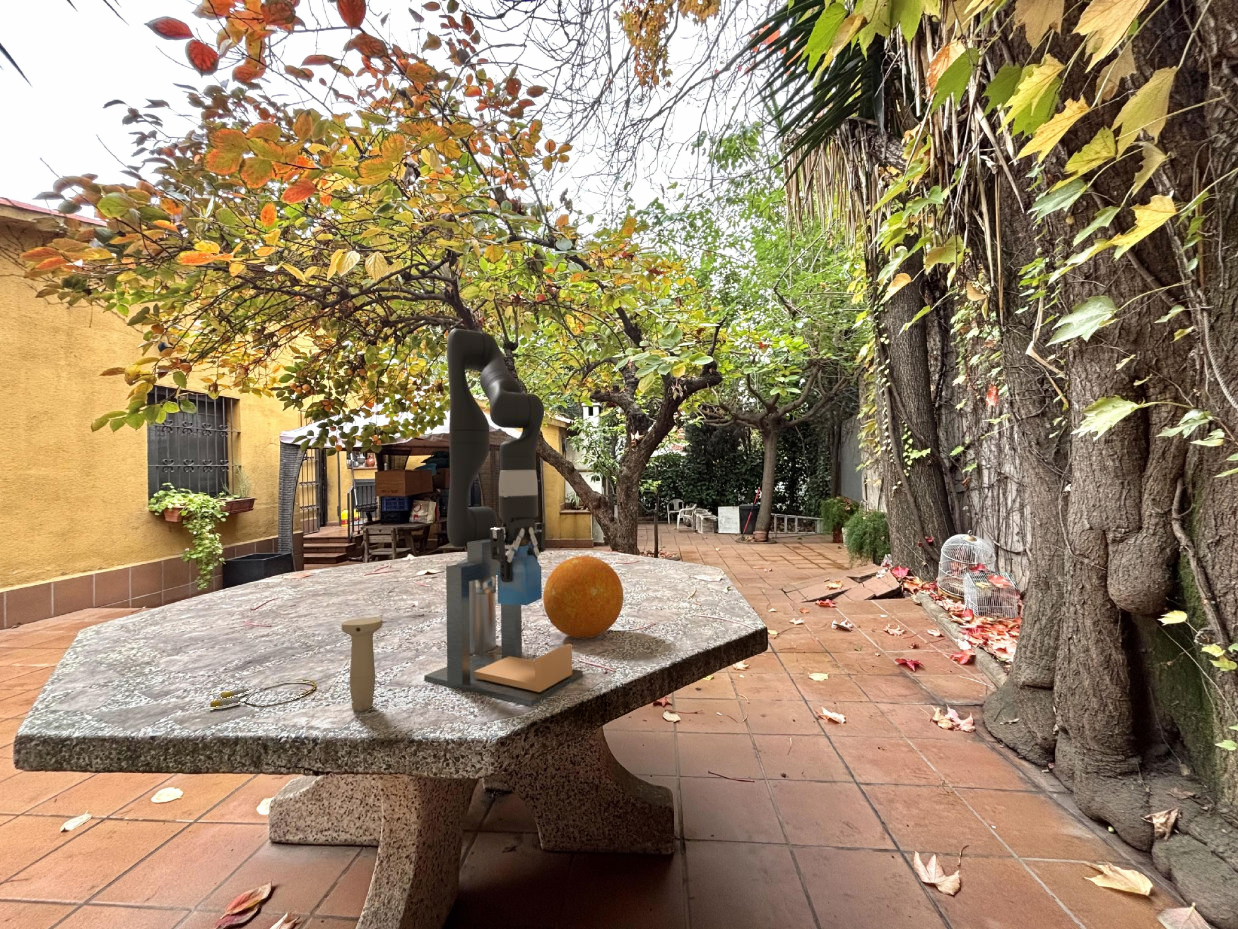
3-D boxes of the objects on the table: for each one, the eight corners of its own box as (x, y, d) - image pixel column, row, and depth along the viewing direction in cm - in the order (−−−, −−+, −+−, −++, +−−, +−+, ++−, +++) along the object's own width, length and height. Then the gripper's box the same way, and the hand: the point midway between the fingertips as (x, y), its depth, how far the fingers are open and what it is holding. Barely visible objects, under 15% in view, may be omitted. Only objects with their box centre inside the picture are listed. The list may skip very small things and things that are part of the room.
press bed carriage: (474, 677, 102) (473, 647, 103) (509, 661, 111) (508, 634, 111) (539, 692, 95) (539, 659, 95) (572, 674, 103) (571, 644, 103)
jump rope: (243, 687, 105) (243, 677, 105) (327, 683, 106) (327, 673, 106) (200, 714, 93) (200, 703, 93) (295, 709, 94) (295, 697, 94)
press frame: (422, 681, 105) (421, 543, 106) (484, 656, 119) (482, 535, 120) (529, 707, 91) (527, 549, 92) (584, 675, 106) (581, 539, 107)
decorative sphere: (545, 628, 142) (543, 552, 142) (619, 624, 144) (618, 550, 145) (542, 651, 122) (541, 563, 123) (629, 646, 124) (627, 560, 125)
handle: (347, 704, 94) (346, 619, 95) (385, 701, 95) (385, 616, 96) (338, 716, 89) (337, 626, 90) (378, 712, 91) (378, 623, 91)
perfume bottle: (541, 598, 106) (540, 537, 106) (526, 605, 100) (525, 541, 100) (514, 596, 108) (513, 537, 108) (497, 603, 102) (497, 540, 102)
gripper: (527, 492, 113) (528, 571, 112) (477, 494, 100) (478, 583, 99) (555, 492, 109) (557, 574, 108) (508, 494, 96) (509, 586, 96)
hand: (519, 578), depth 104 cm, fingers closed on perfume bottle, 6 cm apart
